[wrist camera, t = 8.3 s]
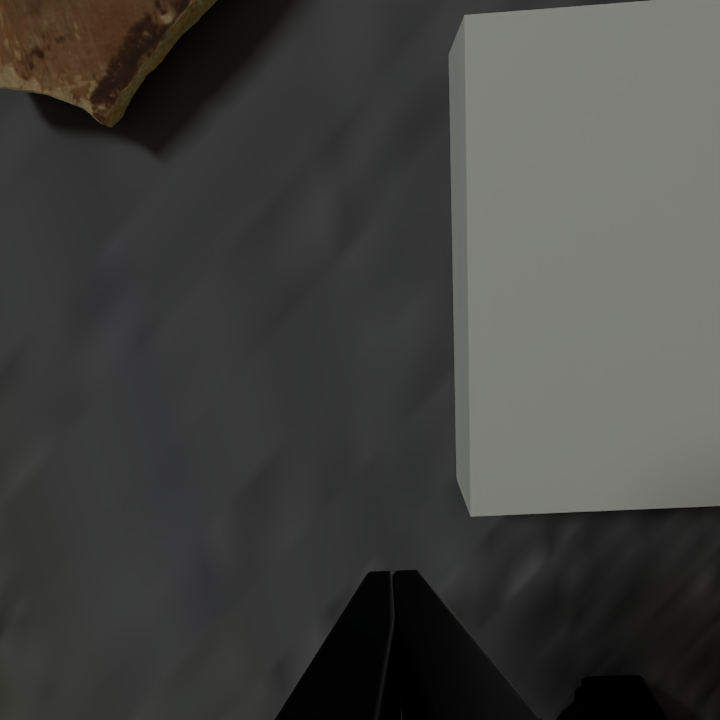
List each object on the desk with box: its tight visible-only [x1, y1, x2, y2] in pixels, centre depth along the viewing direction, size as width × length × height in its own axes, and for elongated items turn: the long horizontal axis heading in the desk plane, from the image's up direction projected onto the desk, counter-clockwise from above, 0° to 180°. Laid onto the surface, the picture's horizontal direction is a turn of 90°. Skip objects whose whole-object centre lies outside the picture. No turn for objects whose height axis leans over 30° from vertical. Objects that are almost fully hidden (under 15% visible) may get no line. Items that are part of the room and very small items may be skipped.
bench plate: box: [449, 0, 720, 517], centre depth 17 cm, size 16×10×3 cm, turn 4°
